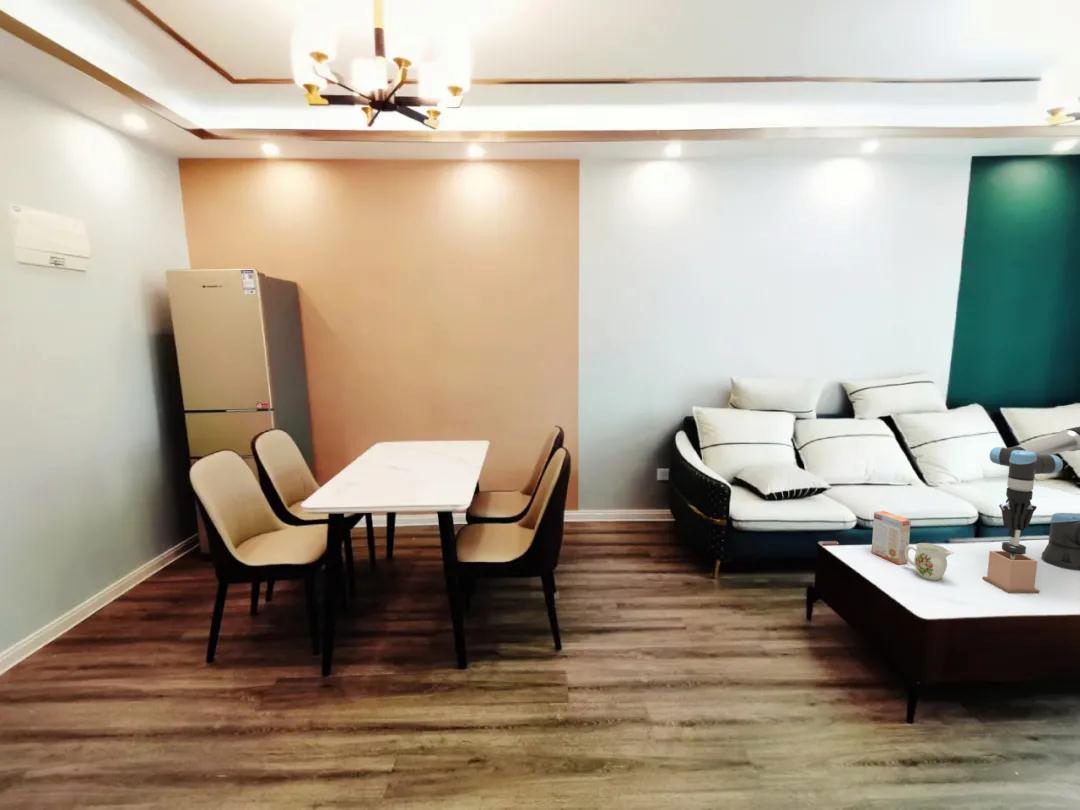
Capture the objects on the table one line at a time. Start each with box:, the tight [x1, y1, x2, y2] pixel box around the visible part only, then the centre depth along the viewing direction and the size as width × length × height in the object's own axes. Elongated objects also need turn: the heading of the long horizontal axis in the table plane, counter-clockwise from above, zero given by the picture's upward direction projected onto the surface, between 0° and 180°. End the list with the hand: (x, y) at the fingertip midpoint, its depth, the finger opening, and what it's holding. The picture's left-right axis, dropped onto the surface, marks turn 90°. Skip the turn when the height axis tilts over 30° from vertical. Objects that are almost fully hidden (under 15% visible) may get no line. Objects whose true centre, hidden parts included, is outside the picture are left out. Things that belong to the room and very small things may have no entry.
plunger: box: [1001, 541, 1027, 560], centre depth 200 cm, size 8×8×15 cm
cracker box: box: [871, 510, 912, 565], centre depth 228 cm, size 14×6×21 cm, turn 12°
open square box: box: [982, 550, 1040, 594], centre depth 200 cm, size 12×12×13 cm
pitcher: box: [905, 542, 955, 581], centre depth 210 cm, size 11×18×14 cm, turn 25°
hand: (1013, 544), depth 199 cm, fingers closed
